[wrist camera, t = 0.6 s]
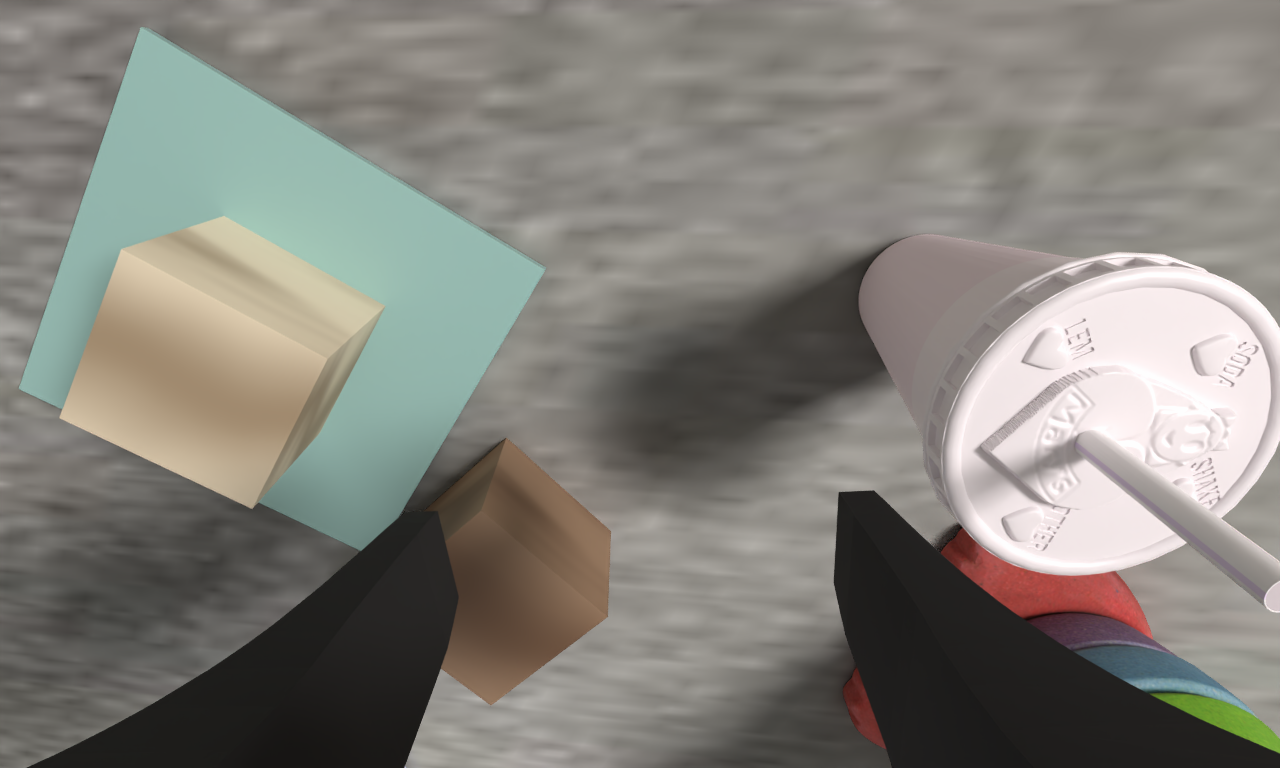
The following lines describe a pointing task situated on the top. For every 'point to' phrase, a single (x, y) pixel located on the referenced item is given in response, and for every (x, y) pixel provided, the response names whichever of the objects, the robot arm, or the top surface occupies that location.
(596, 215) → the top surface
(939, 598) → the robot arm
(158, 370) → the maple block
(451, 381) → the mat
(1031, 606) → the stacking bear
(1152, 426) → the smoothie
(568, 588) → the walnut block
